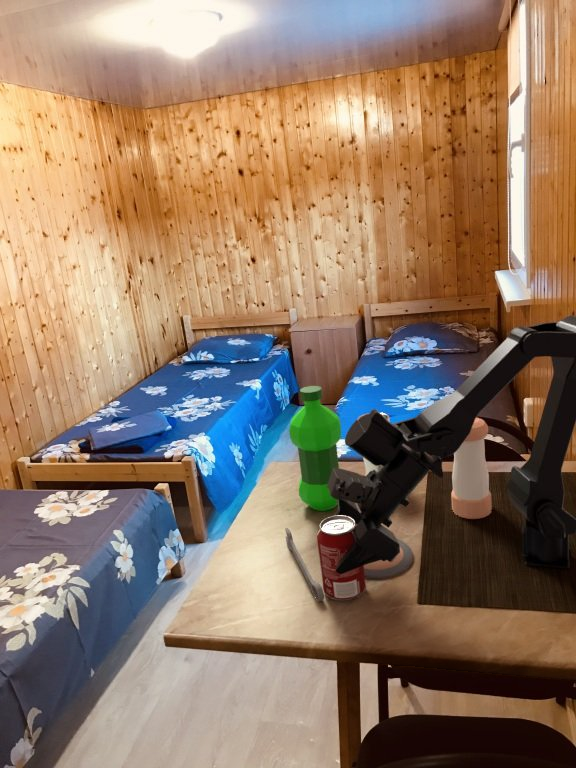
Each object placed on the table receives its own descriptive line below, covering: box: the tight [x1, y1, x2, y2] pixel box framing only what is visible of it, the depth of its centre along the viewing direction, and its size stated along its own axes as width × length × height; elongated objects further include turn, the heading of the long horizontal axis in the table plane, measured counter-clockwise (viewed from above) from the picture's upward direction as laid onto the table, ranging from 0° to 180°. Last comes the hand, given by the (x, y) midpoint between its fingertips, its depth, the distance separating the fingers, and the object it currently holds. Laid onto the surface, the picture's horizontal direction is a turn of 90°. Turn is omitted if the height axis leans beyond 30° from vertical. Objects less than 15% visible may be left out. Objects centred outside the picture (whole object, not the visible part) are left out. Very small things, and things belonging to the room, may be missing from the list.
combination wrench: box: [284, 527, 325, 603], centre depth 105 cm, size 4×1×20 cm
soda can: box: [316, 515, 366, 601], centre depth 97 cm, size 7×7×12 cm
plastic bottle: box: [288, 385, 342, 512], centre depth 123 cm, size 10×10×25 cm
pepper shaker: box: [450, 417, 493, 520], centre depth 115 cm, size 7×7×19 cm
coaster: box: [364, 538, 414, 579], centre depth 106 cm, size 12×12×1 cm
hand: (332, 555), depth 97 cm, fingers open, 9 cm apart
